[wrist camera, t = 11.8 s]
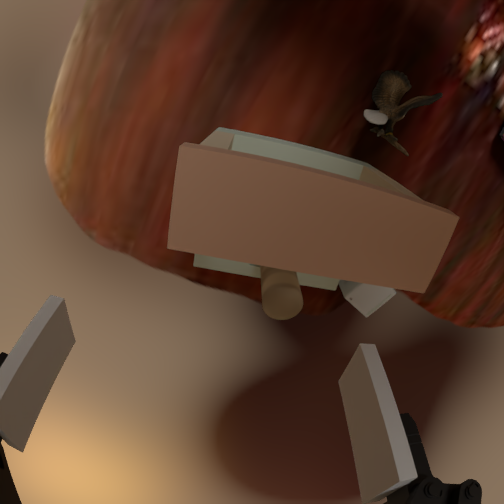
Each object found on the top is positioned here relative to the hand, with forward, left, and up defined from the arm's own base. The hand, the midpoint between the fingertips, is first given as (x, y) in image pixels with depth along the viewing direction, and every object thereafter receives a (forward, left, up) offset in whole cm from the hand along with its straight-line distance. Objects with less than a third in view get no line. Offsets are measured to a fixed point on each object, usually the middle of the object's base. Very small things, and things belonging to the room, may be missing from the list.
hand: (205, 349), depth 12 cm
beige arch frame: (-3, +6, -22) cm, 23 cm away
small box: (+9, +20, -27) cm, 35 cm away
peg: (+6, +6, -26) cm, 28 cm away
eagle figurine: (-14, +16, -27) cm, 34 cm away
